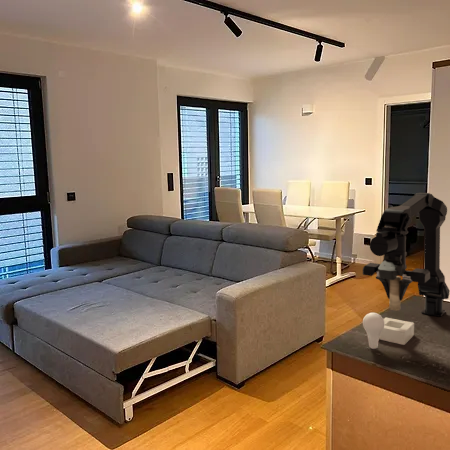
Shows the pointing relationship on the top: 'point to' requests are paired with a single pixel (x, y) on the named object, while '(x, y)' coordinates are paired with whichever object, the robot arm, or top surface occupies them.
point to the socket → (397, 331)
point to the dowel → (395, 294)
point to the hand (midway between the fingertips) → (395, 299)
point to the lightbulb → (373, 328)
